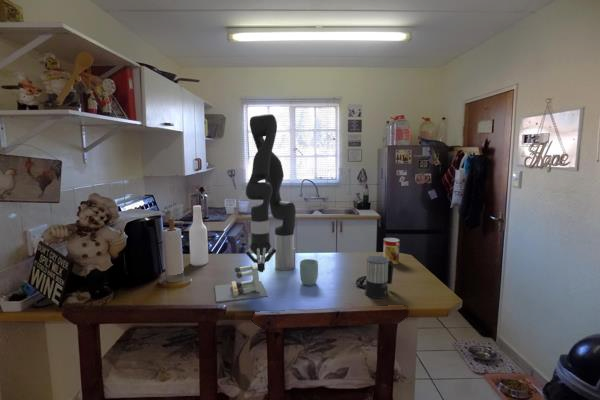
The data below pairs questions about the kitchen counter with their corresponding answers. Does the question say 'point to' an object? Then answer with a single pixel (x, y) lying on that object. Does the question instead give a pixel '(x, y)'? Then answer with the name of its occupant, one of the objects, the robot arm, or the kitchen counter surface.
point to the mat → (228, 293)
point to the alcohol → (198, 239)
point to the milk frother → (377, 276)
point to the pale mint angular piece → (246, 283)
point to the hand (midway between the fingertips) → (261, 271)
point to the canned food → (391, 249)
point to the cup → (309, 271)
